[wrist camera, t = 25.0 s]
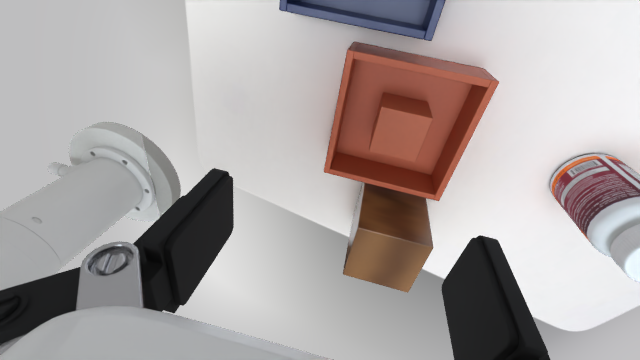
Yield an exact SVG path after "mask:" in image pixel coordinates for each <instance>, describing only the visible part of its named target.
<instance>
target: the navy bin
mask: <svg viewBox="0 0 640 360" xmlns="http://www.w3.org/2000/svg"><path fill="white" fill-rule="evenodd" d="M444 3H445V0H280V8H279V9H280V10H281V11H287V12H291V13H296V14H301V15H306V16H310V17H315V18H320V19H325V20H330V21H335V22H340V23H345V24H350V25H355V26H360V27H364V28H369V29H374V30H379V31H384V32H389V33H394V34H399V35H404V36H409V37H414V38H419V39H424V40H428V41H431V40H432V38H433V35H434V32H435V29H436V26H437V23H438V21H439V18H440V15H441V12H442V9H443V6H444Z"/></svg>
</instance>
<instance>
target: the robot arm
mask: <svg viewBox="0 0 640 360" xmlns="http://www.w3.org/2000/svg"><path fill="white" fill-rule="evenodd" d="M48 172H49V173H51V174H55V175H58V176H63V177H61V178H59V179H58V180H56V181H54V182H52V183H51V184H49V185H47V186H46V187H43V188H42V189H40V190H38V191H36V192H35V193H33V194H31V195H29V196H27V197H26V198H24V199H22V200H21V201H19V202H17V203H15V204H13V205H11V206H10V207H8V208H6V209H4V210H3V211H1V212H0V360H331V359H328V358H325V357H321V356H318V355H314V354H311V353H308V352H304V351H301V350H298V349H294V348H290V347H287V346H284V345H280V344H277V343H273V342H270V341H267V340H263V339H260V338H256V337H252V336H249V335H245V334H242V333H239V332H235V331H231V330H228V329H225V328H221V327H217V326H214V325H211V324H207V323H203V322H199V321H196V320H192V319H188V318H184V317H181V316H177V315H173V314H169V313H164V312H162V311H163V310H165V311H168V312H172V313H175V311H176V310H177V309H178V307H179V306H180V305H184V304H186V302H187V301H188V300H189V298H190V296H191V295H192V293H193V292H194V290H195V289H196V287H197V286H198V284H199V283H200V281H201V280H202V278H203V276H204V275H205V273H206V272H207V270H208V269H209V267H210V266H211V264H212V263H213V261H214V260H215V258H216V256H217V255H218V253H219V252H220V250H221V249H222V247H223V246H224V244H225V243H226V241H227V240H228V238H229V237H230V235H231V233H232V230H233V178H232V177H231V176H229V173H228V172H227V171H223V170H219V169H215V168H214V169H212V170H211V171H210V172H209V173H208V174H207V175H206V176H205V177H204V178H203V179H202V180H201V181H200V182H199V183H198V184H197V185H196V186H195V187H194V188H193V189H192V190H191V191H190V192H189V193H188V194H187V195H185V196H182V197H181V198H179V199H178V200H177V201H176V202H175V203H174V204H173V205H172V206H171V207H170V208H169V209H168V210H167V211H166V212H165V213H164V214H163V215H162V216H161V217H160V218H159V219H158V220H157V221H156V222H155V223H154V224H153V225H152V226H151V227H150V228H149V229H148V230H147V231H146V232H145V233H144V234H143V235H142V236H141V237H140V238H139V239H138V240H137V241H136V242H134V244H131V243H128V242H113V243H109V244H106V245H103V246H101V247H99V248H97V249H95V250H93V251H92V252H91V253H90V254H88V255H87V256H86V258H85V259H84V260H83V262H82V265H81V267H79V268H75V269H72V270H69V271H65V272H62V273H58V274H55V273H56V272H57V271H59V270H60V269H61V268H62V267H63V266H64V265H66V264H67V263H68V262H69V261H71V260H72V259H73V258H74V257H75V256H76V255H78V254H79V253H80V252H81V251H83V250H84V249H85V248H86V247H87V246H89V245H90V244H91V243H92V242H93V241H95V240H96V239H97V238H98V237H99V236H101V235H102V234H103V233H104V232H105V231H107V230H108V229H109V228H110V227H111V226H113V225H114V224H115V223H116V222H117V221H119V220H120V219H121V218H122V217H123V216H125V215H126V214H127V213H128V212H142V211H144V210H146V209H148V208H149V207H150V206H151V205H152V204H153V203H154V200H155V196H156V192H155V187H154V184H153V181H152V180H151V178H150V176H149V174H148V173H147V172H146V170H145V169H144V168H143V167H142V166H141V165H140V164H139V163H138V162H137V161H136V160H135V159H133V158H132V157H131V156H129V155H128V154H126V153H124V152H122V151H120V150H118V149H115V148H113V147H108V146H96V147H93V148H91V149H89V150H87V151H86V152H85V153H84V154H83V155H82V158H81V164H79V165H77V166H73V165H72V166H69V167H68V166H67V165H64V164H60V163H56V162H54V163H51V164H50V165H49V166H48ZM54 274H55V275H54ZM442 295H443V300H444V306H445V311H446V316H447V322H448V327H449V333H450V338H451V344H452V349H453V355H454V360H550V358H549V355H548V351H547V349H546V346H545V344H544V342H543V340H542V338H541V335H540V333H539V331H538V329H537V327H536V324H535V322H534V320H533V317H532V315H531V313H530V311H529V308H528V306H527V304H526V302H525V300H524V297H523V295H522V293H521V291H520V288H519V286H518V284H517V282H516V279H515V277H514V275H513V273H512V271H511V268H510V266H509V264H508V262H507V259H506V257H505V255H504V253H503V250H502V248H501V246H500V244H499V242H498V240H496V239H493V238H489V237H485V236H478V237H477V238H472V239H471V240H470V242H469V243H468V245H467V246H466V248H465V249H464V251H463V252H462V254H461V256H460V257H459V259H458V260H457V262H456V263H455V265H454V266H453V268H452V269H451V271H450V272H449V274H448V275H447V277H446V279H445V280H444V282H443V284H442Z"/></svg>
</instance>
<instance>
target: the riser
mask: <svg viewBox="0 0 640 360" xmlns="http://www.w3.org/2000/svg"><path fill="white" fill-rule="evenodd" d="M432 249H433V242H432V235H431V229H430V222H429V216H428V209H427V203H426V198H424V197H420V196H417V195H413V194H409V193H405V192H401V191H397V190H393V189H389V188H385V187H381V186H377V185H373V184H369V183H365V182H363V184H362V188H361V191H360V194H359V198H358V201H357V204H356V208H355V211H354V215H353V220H352V226H351V231H350V237H349V242H348V248H347V254H346V259H345V265H344V270H343V274H344V275H347V276H351V277H355V278H358V279H361V280H365V281H369V282H372V283H376V284H379V285H383V286H386V287H390V288H393V289H397V290H401V291H404V292H408V291H409V290H410V288H411V286H412V285H413V283H414V281H415V279H416V278H417V276H418V274H419V272H420V270H421V269H422V267H423V265H424V263H425V261H426V260H427V258H428V256H429V254H430V253H431V251H432Z"/></svg>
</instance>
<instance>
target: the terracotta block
mask: <svg viewBox="0 0 640 360" xmlns="http://www.w3.org/2000/svg"><path fill="white" fill-rule="evenodd" d="M432 120H433V117H432V113H431V110H430V107H429V104H428V102H426V101H421V100H417V99H412V98H408V97H403V96H399V95H394V94H390V93H385V92H383V94H382V98H381V101H380V105H379V108H378V112H377V115H376V119H375V122H374V126H373V130H372V134H371V140H370V147H369V151H370V152H374V153H378V154H383V155H387V156H391V157H395V158H399V159H403V160H407V161H412V162H416V160H417V157H418V155H419V152H420V150H421V147H422V145H423V142H424V140H425V137H426V135H427V133H428V130H429V128H430V125H431V123H432Z"/></svg>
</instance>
